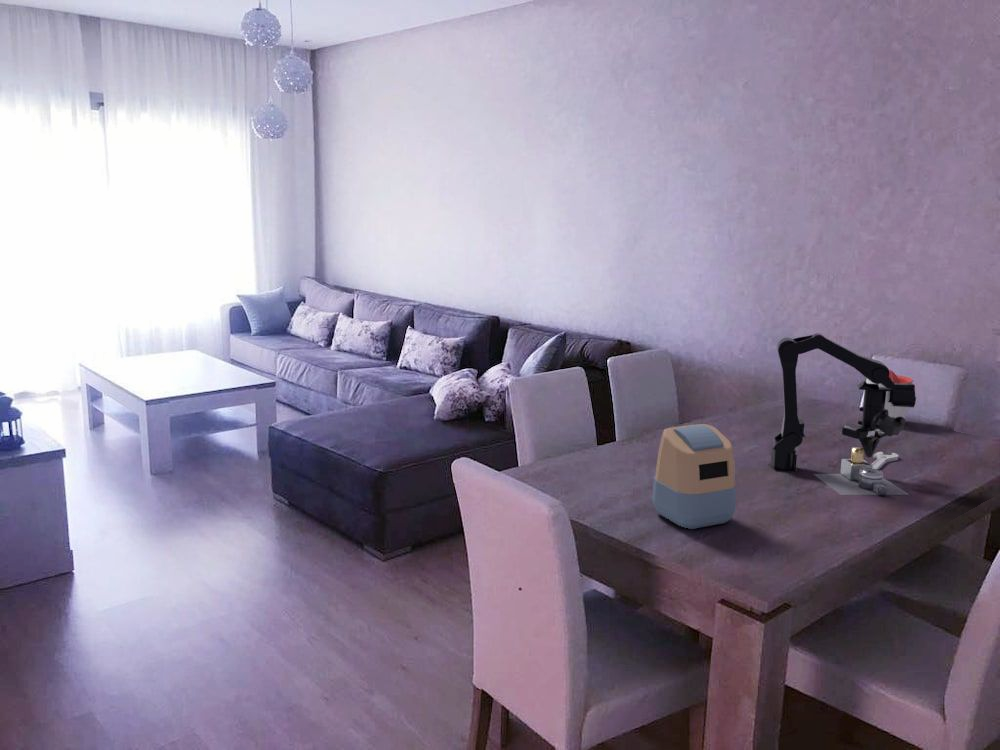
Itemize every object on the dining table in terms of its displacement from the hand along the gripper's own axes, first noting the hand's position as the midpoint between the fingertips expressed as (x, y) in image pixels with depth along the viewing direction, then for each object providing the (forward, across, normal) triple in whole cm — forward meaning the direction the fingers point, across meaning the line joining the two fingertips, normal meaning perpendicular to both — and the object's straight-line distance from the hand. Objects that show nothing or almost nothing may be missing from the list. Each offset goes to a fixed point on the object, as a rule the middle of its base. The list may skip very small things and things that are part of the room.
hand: (868, 456), depth 235 cm
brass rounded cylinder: (+4, -5, 0) cm, 7 cm away
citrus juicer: (+6, +58, +38) cm, 70 cm away
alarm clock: (+6, -68, -3) cm, 68 cm away
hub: (+6, -8, -8) cm, 13 cm away
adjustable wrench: (+6, +12, +6) cm, 15 cm away
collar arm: (+5, -8, -6) cm, 11 cm away
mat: (+6, -9, -4) cm, 11 cm away
